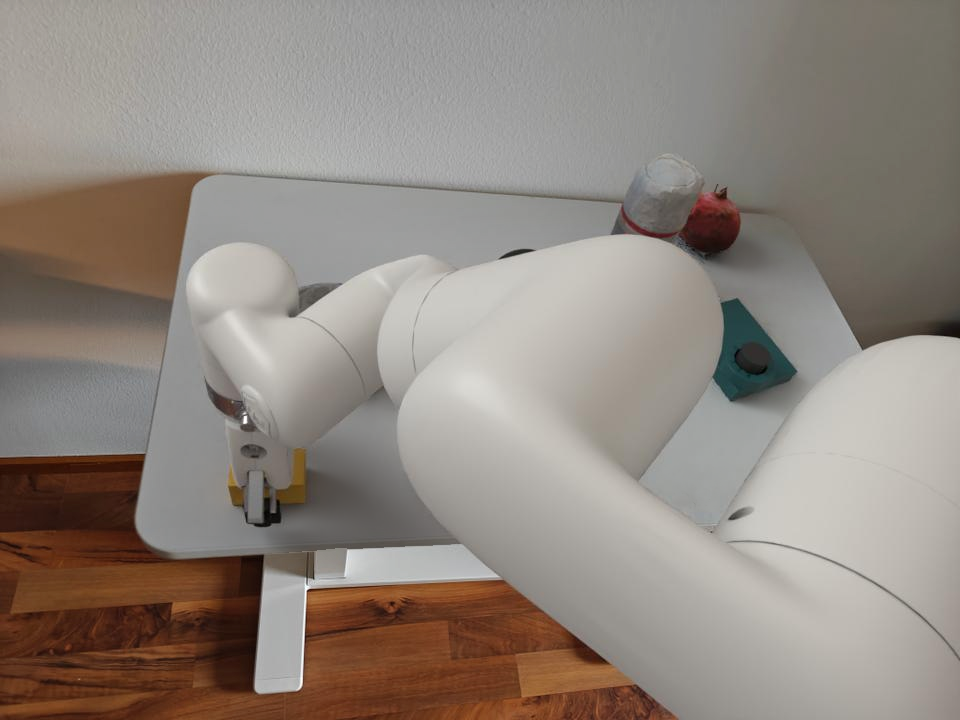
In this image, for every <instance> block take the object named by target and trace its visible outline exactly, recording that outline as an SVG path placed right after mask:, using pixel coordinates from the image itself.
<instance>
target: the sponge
mask: <svg viewBox="0 0 960 720" xmlns="http://www.w3.org/2000/svg"><path fill="white" fill-rule="evenodd" d="M229 464H230V465H229V473H228V483H227V488H228V492H229V495H230V496H229V497H230V500H231V504H232V506H240V505H241V506H243V501H244V487H243V490H242V489H240V488H239V487H238V486H237V485H236V483H235V481H234V477H233V473H232V468H231V463H229ZM265 477H266V472H265ZM306 488H307V456H306V448H294V463H293V477H292V483H291V485H290V486H289V487H288V488H287V489H276V499H278V500H280V505H281V504H305V503H306ZM264 498H270V488H264Z"/></svg>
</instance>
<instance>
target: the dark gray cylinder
mask: <svg viewBox="0 0 960 720" xmlns="http://www.w3.org/2000/svg"><path fill="white" fill-rule="evenodd" d="M770 360H771V355H770V352H769V351H768V349H767V348H766V347H764V346H763V345H761V344H759V343H757V342H748V343H746V344H744V345H743V347H742V348H741V350H740V351H739V352H738V354H737V355H736V363H737V365H738V366H739V368H740V369H742V370H743V371H745V372H747V373H748V374H753V375H757V374H760V373H761V372H762V371H763V370H764V369H765V367H766V366H767V365H768V363H769V362H770Z"/></svg>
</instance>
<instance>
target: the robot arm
mask: <svg viewBox="0 0 960 720" xmlns="http://www.w3.org/2000/svg"><path fill="white" fill-rule="evenodd" d="M536 250H537V251H533V252H528V253H524V254H520V255H516V256H512V257H508V258H504V259H500V260H498V259H496V260H491V261H488V262H483V263H480V264H475V265H470V266H467V267H463V268H459V269H458V268H457V267H455V266H454V265H452V264H451V263H449V262H447V261H445V260H442V259H440V258H439V257H437V256H433V255H430V254H414V255H412V256H408V257H404V258H400V259H398V260H394V261H390V262H386V263H384V264H381V265H377V266H375V267H372V268H370V269H367V270H365V271H362V272H360V273H359V274H357V275H355V276H353V277H351V278H350V279H348V280H347V281H345V282H344V283H342V285H341V286H339V287H338V288H336V289H335V290H333V291H332V292H330V293H329V294H327V295H326V296H324V297H323V298H321V299H320V300H319V301H317V302H316V303H314V304H313V305H311V306H310V307H309V308H307V309H306V310H304V311H303V312H301V313H300V314H299V290H298V288H299V283H298V277H297V275H296V272H295V270H294V268H293V267H292V265H291V264H290V262H289V261H288V260H287V259H286V258H285V257H284V256H283V255H281V253H278V252H277V251H276V250H274V249H273V248H270V247H268V246H265V245H262V244H259V243H253V242H245V241H244V242H243V241H242V242H230V243H226V244H222V245H219V246H217V247H214V248H212V249H209V251H206V252H205V253H204V254H203V255H202V256H200V257H199V258H198V259H197V260H196V261H195V262H194V264H193V265H192V266H191V267H190V270H189V271H188V275H187V277H186V283H185V297H186V303H187V308H188V312H189V317H190V321H191V325H192V330H193V334H194V339H195V342H196V343H195V344H196V347H197V352H198V356H199V361H200V366H201V369H202V374H203V378H204V379H203V380H204V383H205V387H206V391H207V392H206V393H207V397H208V400H209V402H210V404H211V406H212V407H213V409H214V410H215V411H216V412H217V413H218V414H219V415H220V416H222V417H223V418H224V426H225V436H226V442H227V449H228V457H229V462H230V463H231V468H232V473H233V477H234V481H235V483H236V485H237V486H238V487H239V488H240V489H242V490H243V487H244V501H243V505H242V509H243V514H244V519H245V523H246V524H247V525H253V527H255V528H270V527H271V526H272V525H273V524H281V523H282V509H281V504H280V500H278V499H276V489H287V488H288V487H289V486H290V485H291V483H292V477H293V463H294V449H303V448H305V447H308V446H310V445H313V444H314V443H315V442H317V441H319V440H320V439H322V438H323V437H324V436H325V435H327V434H328V433H329V432H330V431H332V430H333V428H335V427H336V426H337V425H339V424H340V423H341V422H342V421H343V420H344V419H346V418H347V417H348V416H349V415H350V414H351V413H352V412H354V411H355V410H356V409H357V408H358V407H360V406H361V405H362V404H364V402H365V401H366V400H368V399H369V398H370V397H372V395H374V394H375V393H376V392H377V391H378V390H379V389H381V388H382V387H384V390H385V391H386V393H387V395H388V397H389V399H390V401H391V402H392V403H393V405H394V406H395V408H396V409H397V410H398V412H397V420H396V434H395V435H396V436H395V437H396V438H395V439H396V443H397V449H398V454H399V457H400V463H401V465H402V467H403V470H404V471H405V473H406V476H407V478H408V480H409V482H410V483H411V486H412V488H413V490H414V492H415V493H416V494H417V496H418V497H419V499H420V500H421V501H422V503H423V504H424V505H425V507H426V508H427V509H428V511H429V512H430V513H431V514H432V516H433V517H434V518H435V519H436V520H437V521H438V523H439V524H440V525H441V526H442V527H443V528H444V529H445V530H446V531H447V532H448V533H449V534H451V536H452V537H454V538H455V539H456V540H457V541H458V542H459V543H460V544H461V545H462V546H463V547H465V548H466V549H467V550H468V551H469V552H470V553H471V554H472V555H473V556H474V557H476V559H477V560H479V561H480V562H481V563H482V564H483V565H485V566H486V567H487V568H488V569H489V570H490V571H492V572H493V573H494V574H496V575H497V576H498V577H499V578H500V579H502V580H503V581H504V582H505V583H506V584H507V585H509V586H510V587H512V588H513V589H514V590H516V591H517V592H518V593H519V594H521V596H523V597H524V598H526V600H528V601H530V602H531V603H532V604H533V605H535V607H536V608H538V609H540V610H541V611H542V612H544V613H545V614H546V615H547V616H549V617H550V618H551V619H553V620H554V621H555V622H557V623H558V624H559V625H561V627H563V628H564V629H566V630H567V631H568V632H569V633H571V635H573V636H574V637H576V638H577V639H578V640H580V641H581V642H582V643H583V644H584V645H586V646H587V647H588V648H590V649H591V650H593V651H594V652H595V653H596V654H597V655H599V656H600V657H601V658H602V659H604V660H605V661H606V662H607V663H609V664H610V665H611V666H613V668H615V669H616V670H617V671H619V672H620V673H621V674H622V675H624V676H625V677H626V678H627V679H629V680H630V681H631V682H632V683H634V684H635V685H636V686H638V687H639V688H640V689H641V690H642V691H644V692H645V693H646V695H648V696H650V697H651V698H652V699H653V700H654V701H656V702H657V703H658V704H660V705H661V706H662V707H663V708H664V709H665V710H667V711H668V712H669V713H670V714H672V715H673V717H674V716H675V717H676V718H677V719H678V720H960V337H959V338H958V337H955V336H954V337H953V336H944V335H931V334H930V335H928V334H917V335H909V336H908V335H907V336H903V337H898V338H895V339H890V340H887V341H883V342H882V341H881V342H879V343H877V344H874V345H871V346H869V347H867V348H865V349H863V350H861V351H858V352H857V353H855V354H853V355H851V356H850V357H848V358H846V359H845V360H844V361H842V362H841V363H839V364H838V365H836V366H834V368H832V369H831V370H830V371H829V372H828V373H826V374H825V375H824V376H823V377H822V378H821V379H819V380H818V382H816V383H814V384H813V386H812V387H810V389H809V390H808V391H807V392H806V394H805V395H804V396H803V397H802V398H801V399H800V400H799V402H798V403H797V404H796V405H795V407H794V408H793V409H792V410H791V411H790V412H789V414H788V415H787V416H786V417H785V419H784V420H783V422H782V423H781V425H780V426H779V427H778V429H777V430H776V431H775V433H774V435H773V436H772V438H771V440H770V441H769V443H768V444H767V446H766V448H765V449H764V451H763V452H762V454H761V455H760V456H759V458H758V460H757V462H756V463H755V464H754V466H753V467H752V469H751V470H750V471H749V474H748V475H747V476H746V477H745V480H744V481H743V483H742V485H741V486H740V488H739V489H738V490H737V492H736V494H735V495H734V497H733V499H732V500H731V502H730V504H729V505H728V507H727V508H726V510H725V511H724V513H723V514H722V516H721V517H720V519H719V521H718V522H717V524H716V525H715V526H714V528H713V530H712V531H709V530H708V529H707V528H705V527H704V526H702V525H700V524H699V523H698V522H696V521H695V520H693V519H692V518H690V517H689V516H687V515H686V514H684V513H683V512H682V511H680V510H679V509H677V508H676V507H674V506H673V505H671V504H670V503H669V502H667V501H665V500H664V499H663V498H662V497H660V496H659V495H657V494H655V493H654V492H653V491H652V490H651V489H649V488H648V487H646V486H645V485H644V484H643V483H641V482H640V480H641V479H642V477H643V476H644V475H645V473H646V472H647V471H648V469H649V468H650V467H651V466H652V465H653V463H654V462H655V460H656V459H657V458H658V457H659V456H660V454H661V453H662V451H663V450H664V449H665V448H666V447H667V445H668V444H669V442H670V441H671V440H672V439H673V438H674V436H675V435H676V434H677V432H678V431H679V429H681V427H682V425H683V424H684V423H685V422H686V420H687V419H688V418H689V416H690V414H692V412H693V411H694V409H695V407H696V406H697V404H698V403H699V401H700V400H701V398H702V397H703V396H704V394H705V392H706V391H707V389H708V387H709V385H710V383H711V381H712V379H713V375H714V373H715V370H716V367H717V364H718V360H719V357H720V354H721V350H722V341H723V332H724V321H723V312H722V308H721V300H720V296H719V293H718V291H717V288H716V285H715V283H714V282H713V280H712V278H711V277H710V275H709V273H708V272H707V271H706V270H705V269H704V267H703V266H702V265H701V264H700V263H699V261H697V260H696V258H694V257H693V256H692V255H691V254H689V253H688V252H687V251H685V250H684V249H682V248H681V247H679V246H677V245H675V244H671V243H669V242H666V241H663V240H660V239H657V238H652V237H647V236H642V235H631V234H621V235H601V236H594V237H589V238H584V239H579V240H575V241H570V242H566V243H565V242H564V243H562V244H558V245H554V246H549V247H545V248H541V249H536ZM230 463H229V464H230ZM265 472H266V477H265ZM264 488H270V498H264Z"/></svg>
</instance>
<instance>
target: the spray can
mask: <svg viewBox="0 0 960 720" xmlns="http://www.w3.org/2000/svg"><path fill="white" fill-rule="evenodd" d="M704 186H705V178H704V176H703V175H702V174H701V172H700V170H699V169H698V168H697V166H696V165H695V164H692V163H691V162H690V161H687V160H686V159H685V158H684V157H683V155H681V154H679V153H671V152H666V153H663V154H660V155H658V156H656V157H655V158H653V159H651V160H649V161H647V162H646V163H644V164H643V165H641V166H640V167H639V168H638V169H637V170H636V172H635V173H634V176H633V179H632V181H631V183H630V185H629V186H628V189H627V191H626V194H625V196H624V199H623V200H622V201H623V202H622V204H621V207H620V209H619V212H618V214H617V217H616V219H615V221H614V225H613V227H612V229H611V232H610V235H621V234H631V235H642V236H647V237H652V238H657V239H660V240H663V241H666V242H669V243H671V244H673V245H675V243H676V241H677V238H678V237H679V233H680V230H681V229H682V228H683V227H684V225H685V224H686V222H687V218H688V215H689V213H690V211H691V209H692V208H693V207H694V206H695V204H696V202H697V200H698V197H699V195H700V193H701V192H703V188H704Z"/></svg>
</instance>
